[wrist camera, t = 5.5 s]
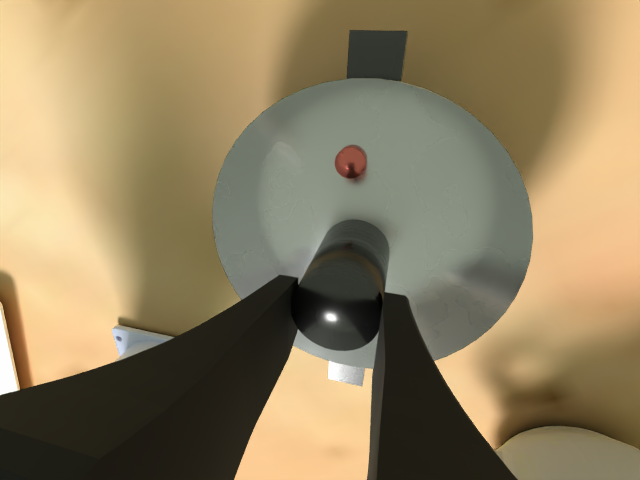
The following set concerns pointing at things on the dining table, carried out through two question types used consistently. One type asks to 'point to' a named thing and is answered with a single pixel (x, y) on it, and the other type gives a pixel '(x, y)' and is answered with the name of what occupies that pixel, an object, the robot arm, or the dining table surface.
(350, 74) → the pot
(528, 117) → the dining table surface
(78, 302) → the dining table surface
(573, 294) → the dining table surface
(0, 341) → the plate
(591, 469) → the teacup
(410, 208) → the lid
